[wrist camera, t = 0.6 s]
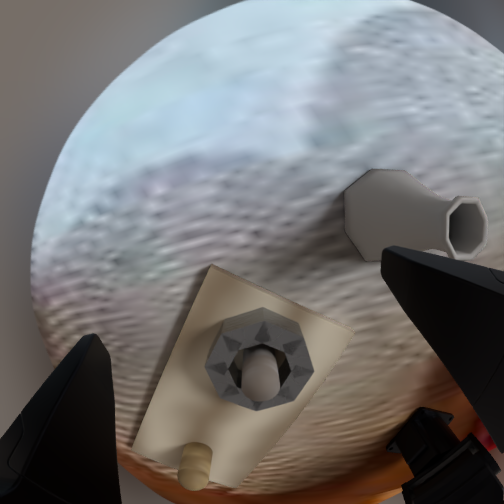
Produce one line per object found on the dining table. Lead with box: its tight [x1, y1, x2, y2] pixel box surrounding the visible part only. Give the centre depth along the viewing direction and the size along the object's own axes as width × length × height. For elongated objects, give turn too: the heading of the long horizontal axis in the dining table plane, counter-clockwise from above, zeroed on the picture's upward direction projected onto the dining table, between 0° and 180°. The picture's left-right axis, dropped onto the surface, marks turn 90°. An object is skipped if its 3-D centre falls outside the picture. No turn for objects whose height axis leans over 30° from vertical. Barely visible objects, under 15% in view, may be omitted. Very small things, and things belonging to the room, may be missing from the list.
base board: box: [131, 264, 355, 491], centre depth 21 cm, size 12×22×6 cm, turn 154°
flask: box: [344, 169, 488, 261], centre depth 16 cm, size 7×7×10 cm
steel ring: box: [204, 307, 315, 411], centre depth 21 cm, size 7×7×2 cm
